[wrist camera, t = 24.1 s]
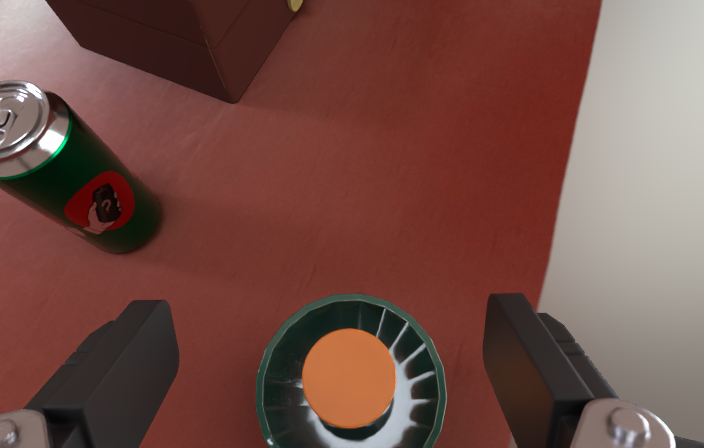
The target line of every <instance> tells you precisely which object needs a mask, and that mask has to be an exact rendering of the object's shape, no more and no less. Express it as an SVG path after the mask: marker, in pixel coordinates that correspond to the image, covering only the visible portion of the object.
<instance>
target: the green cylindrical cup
mask: <svg viewBox="0 0 704 448" xmlns="http://www.w3.org/2000/svg"><path fill="white" fill-rule="evenodd" d="M348 328H351V329H359V330H363V331H366V332H368V333H370V334H372V335H373V336H375V337H376V338H378V339H379V340H380V341H381V342H382V343H383V344H384V345H385V346H386V348H387V349H388V351H389V352H390V354H391V356H392V358H393V361H394V364H395V368H396V388H395V392H394V396H393V398H392V400H391V402H390V404H389V406H388V408H387V409H386V410H385V411H384V413H383V414H382V415H381V416H380V417H378V418H377V419H376V420H374V421H373V422H371V423H369V424H367V425H365V426H362V427H357V428H341V427H336V426H334V425H331V424H329V423H327V422H325V421H324V420H322V419H321V418H320V417H319V416H318V415H317V414H315V412H314V411H313V410H312V409H311V407H310V406H309V404H308V402H307V400H306V398H305V395H304V391H303V386H302V370H303V366H304V362H305V360H306V357H307V355H308V353H309V351H310V350H311V348H312V347H313V346H314V345H315V343H316V342H317V341H319V340H320V339H321V338H322V337H324V336H325V335H327V334H329V333H331V332H333V331H336V330H340V329H348ZM446 402H447V394H446V385H445V377H444V368H443V365H442V363H441V360H440V358H439V356H438V353H437V351H436V349H435V347H434V344H433V342H432V340H431V338H430V337H429V336H428V334H427V333H426V332H425V331H424V330H423V329H422V327H421V326H420V325H419V324H418V323H417V321H416V320H415V319H414V318H413V317H411V315H409V314H408V313H406V312H405V311H403V310H402V309H400V308H399V307H397V306H395V305H394V304H392V303H391V302H389V301H387V300H384V299H380V298H376V297H372V296H369V295H365V294H360V293H357V294H336V295H331V296H328V297H325V298H323V299H320V300H317V301H314V302H312V303H309V304H307V305H305V306H304V307H303V308H301V309H300V310H299V311H297V312H296V313H295V314H294V315H292V316H291V317H290V318H288V319H287V320H286V321H284V323H283V324H282V325H281V327H280V328H279V329H278V331H277V332H276V334H275V335H274V336H273V338H272V339H271V341H270V342H269V344H268V345H267V347H266V349H265V352H264V355H263V358H262V361H261V364H260V367H259V370H258V373H257V377H256V402H255V408H256V413H257V416H258V420H259V424H260V427H261V431H262V435H263V438H264V439H265V440H264V441H265V442H266V444H267V445H268V447H269V448H433V446H434V444H435V442H436V440H437V438H438V436H439V434H440V432H441V430H442V424H443V419H444V413H445V408H446Z"/></svg>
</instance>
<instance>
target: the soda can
mask: <svg viewBox="0 0 704 448" xmlns="http://www.w3.org/2000/svg"><path fill="white" fill-rule="evenodd" d="M0 189H1V190H3V191H5V192H6V193H8V194H10V195H11V196H13V197H14V198H16V199H18V200H19V201H21V202H23V203H24V204H26V205H28V206H29V207H31V208H33V209H34V210H36V211H37V212H39V213H41V214H42V215H44V216H46V217H47V218H49V219H51V220H52V221H54V222H56V223H57V224H59V225H60V226H62V227H64V228H65V229H67V230H69V231H70V232H72V233H74V234H75V235H77V236H79V237H80V238H82V239H83V240H85V241H87V242H88V243H90V244H92V245H93V246H95V247H97V248H98V249H100V250H102V251H106V252H110V253H122V252H127V251H130V250H133V249H135V248H137V247H139V246H140V245H142V244H143V243H145V242H146V241H147V240H148V239H149V238H150V237H151V236H152V235H153V233H154V232H155V230H156V228H157V226H158V224H159V220H160V214H161V211H160V205H159V202H158V200H157V198H156V196H155V195H154V194H153V193H152V192H151V191H150V190H149V189H148V188H147V187H146V186H145V184H144V183H143V182H142V181H141V180H140V179H139V178H138V177H137V176H136V175H135V174H134V173H133V172H132V171H131V170H130V169H129V168H128V167H127V166H126V165H125V164H124V163H123V162H122V160H121V159H120V158H119V157H118V156H117V155H116V154H115V153H114V152H113V151H112V150H111V149H110V148H109V147H108V146H107V145H106V144H105V143H104V142H103V141H102V140H101V139H100V137H99V136H98V135H97V134H96V133H95V132H94V131H93V130H92V129H91V128H90V127H89V126H88V125H87V124H86V123H85V122H84V121H83V120H82V119H81V118H80V117H79V116H78V115H77V113H76V112H75V111H74V110H73V109H72V108H71V107H70V106H69V105H68V104H67V103H66V102H65V101H64V100H63V99H62V98H61V97H59V96H58V95H56V94H55V93H52V92H50V91H47V90H43V89H41V88H39V87H38V86H36V85H34V84H32V83H30V82H26V81H22V80H6V81H0Z"/></svg>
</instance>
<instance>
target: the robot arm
mask: <svg viewBox="0 0 704 448" xmlns="http://www.w3.org/2000/svg"><path fill="white" fill-rule="evenodd" d="M483 359H484V365H485V369H486V372H487V374H488V377H489V379H490V382H491V384H492V386H493V389H494V391H495V394H496V396H497V398H498V401H499V403H500V406H501V408H502V411H503V413H504V415H505V418H506V420H507V423H508V425H509V427H510V430H511V432H512V435H513V437H514V439H515V442H516V444H517V447H518V448H704V443H702V442H698V441H694V440H689V439H685V438H681V437H677V436H673V435H672V433H671V431H670V430H669V428H668V427H667V426H666V425H665V424H664V423H663V422H662V421H661V420H660V419H659V418H658V417H657V416H655V415H654V414H653V413H651V412H650V411H648V410H646V409H644V408H643V407H640V406H638V405H636V404H634V403H631V402H628V401H625V400H621V399H619V397H618V396H617V395H616V393H615V392H614V391H613V389H612V388H611V387H610V385H609V384H608V383H607V381H606V380H605V379H604V378H603V376H602V375H601V373H600V372H599V371H598V370H597V368H596V367H595V366H594V364H593V363H592V362H591V360H590V359H589V358H588V356H585V354H584V351H583V350H582V348H581V347H580V346H579V344H578V343H575V339H574V338H573V337H572V335H571V334H570V333H569V331H568V330H567V329H566V327H565V326H564V325H563V324H561V323H560V322H558V321H557V320H556V319H554V318H553V317H551V316H550V315H548V314H547V313H536V312H535V310H534V309H533V307H532V306H531V304H530V303H529V301H528V300H527V299H526V297H525V296H524V295H523V294H522V293H501V294H490V296H489V298H488V303H487V312H486V321H485V330H484V340H483ZM178 366H179V349H178V344H177V339H176V334H175V329H174V325H173V320H172V315H171V310H170V306H169V304H168V302H167V301H166V300H135V301H132V302H131V303H130V304H129V305H128V306H127V307H126V309H125V310H124V311H123V312H122V313H121V314H120V316H119V317H118V318H117V319H116V320H115V321H109V322H108V323H106V324H105V325H103V326H102V327H100V328H99V329H97V330H96V331H94V332H92V333H91V334H90V335H89V336H88V337H87V338H86V339H85V340H84V341H83V342H82V344H81V345H80V346H79V347H78V348H77V351H76V352H74V353H73V354H72V355H71V356H70V357H69V358H68V359H67V360H66V361H65V365H62V366H61V367H60V368H59V369H58V370H57V372H56V373H55V374H54V375H53V376H52V377H51V378H50V379H49V380H48V382H47V383H46V384H45V385H44V386H43V387H42V388H41V389H40V391H39V392H38V393H37V394H36V395H35V396H34V397H33V398H32V399H31V401H30V402H29V403H28V404H27V405H26V406H25V407H24V408H23V410H16V411H11V412H7V413H4V414H1V415H0V448H138V447H139V445H140V444H141V442H142V440H143V438H144V436H145V434H146V432H147V430H148V428H149V426H150V424H151V423H152V421H153V419H154V417H155V415H156V413H157V411H158V409H159V407H160V405H161V403H162V402H163V400H164V398H165V396H166V394H167V392H168V390H169V388H170V386H171V384H172V382H173V381H174V379H175V377H176V374H177V371H178Z"/></svg>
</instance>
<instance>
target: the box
mask: <svg viewBox="0 0 704 448" xmlns="http://www.w3.org/2000/svg"><path fill="white" fill-rule="evenodd" d="M45 1H46V2H47V3H48V4H49V6H50V7H51V8H52V10H53V11H54V12H55V14H56V15H57V16H58V17H59V19H60V20H61V21H62V23H63V24H64V25H65V27H66V28H67V29H68V30H69V32H70V33H71V34H72V36H73V37H74V38H75V40H76V41H77V42H78V43H79V45H80V46H81V47H84V48H86V49H89V50H92V51H94V52H97V53H99V54H102V55H105V56H107V57H110V58H113V59H115V60H118V61H121V62H123V63H126V64H129V65H131V66H134V67H136V68H139V69H142V70H144V71H147V72H150V73H152V74H155V75H158V76H160V77H163V78H165V79H168V80H171V81H173V82H176V83H179V84H181V85H184V86H187V87H189V88H192V89H194V90H197V91H200V92H202V93H205V94H208V95H210V96H213V97H216V98H218V99H221V100H224V101H226V102H229V103H235V102H237V101H238V100H239V99H240V97H241V96H242V94H243V93H244V91H245V90H246V88H247V87H248V85H249V84H250V82H251V81H252V79H253V77H254V76H255V74H256V73H257V71H258V70H259V68H260V67H261V65H262V64H263V62H264V61H265V59H266V58H267V56H268V54H269V53H270V51H271V50H272V48H273V47H274V45H275V44H276V42H277V41H278V39H279V38H280V36H281V35H282V33H283V31H284V30H285V28H286V27H287V25H288V24H289V22H290V21H291V19H292V18H293V16H294V15H295V13H296V12H297V10H298V9H299V8H300V6H301V4H302V2H303V1H304V0H45Z"/></svg>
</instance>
